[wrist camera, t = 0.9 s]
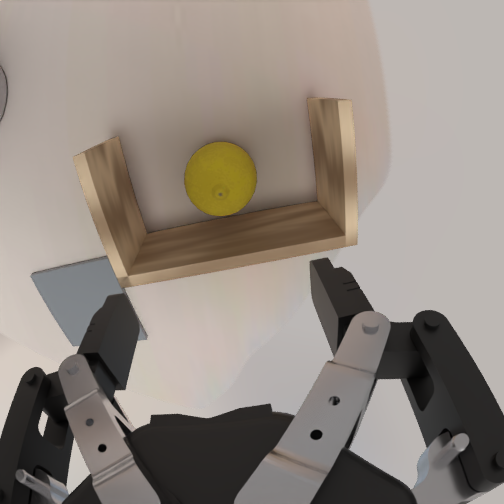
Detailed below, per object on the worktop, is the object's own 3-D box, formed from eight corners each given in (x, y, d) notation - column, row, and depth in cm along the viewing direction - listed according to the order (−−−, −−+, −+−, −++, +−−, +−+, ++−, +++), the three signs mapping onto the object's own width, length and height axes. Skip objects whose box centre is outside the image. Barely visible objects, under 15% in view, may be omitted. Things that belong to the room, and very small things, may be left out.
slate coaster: (32, 273, 29) (30, 275, 28) (109, 255, 29) (107, 258, 29) (74, 343, 35) (72, 346, 35) (147, 336, 35) (146, 339, 35)
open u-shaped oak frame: (108, 139, 23) (72, 157, 17) (317, 97, 23) (351, 99, 17) (141, 244, 29) (121, 288, 22) (327, 208, 29) (357, 244, 22)
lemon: (178, 176, 26) (163, 208, 19) (210, 124, 24) (206, 135, 17) (230, 205, 28) (233, 246, 21) (263, 156, 26) (280, 181, 19)
